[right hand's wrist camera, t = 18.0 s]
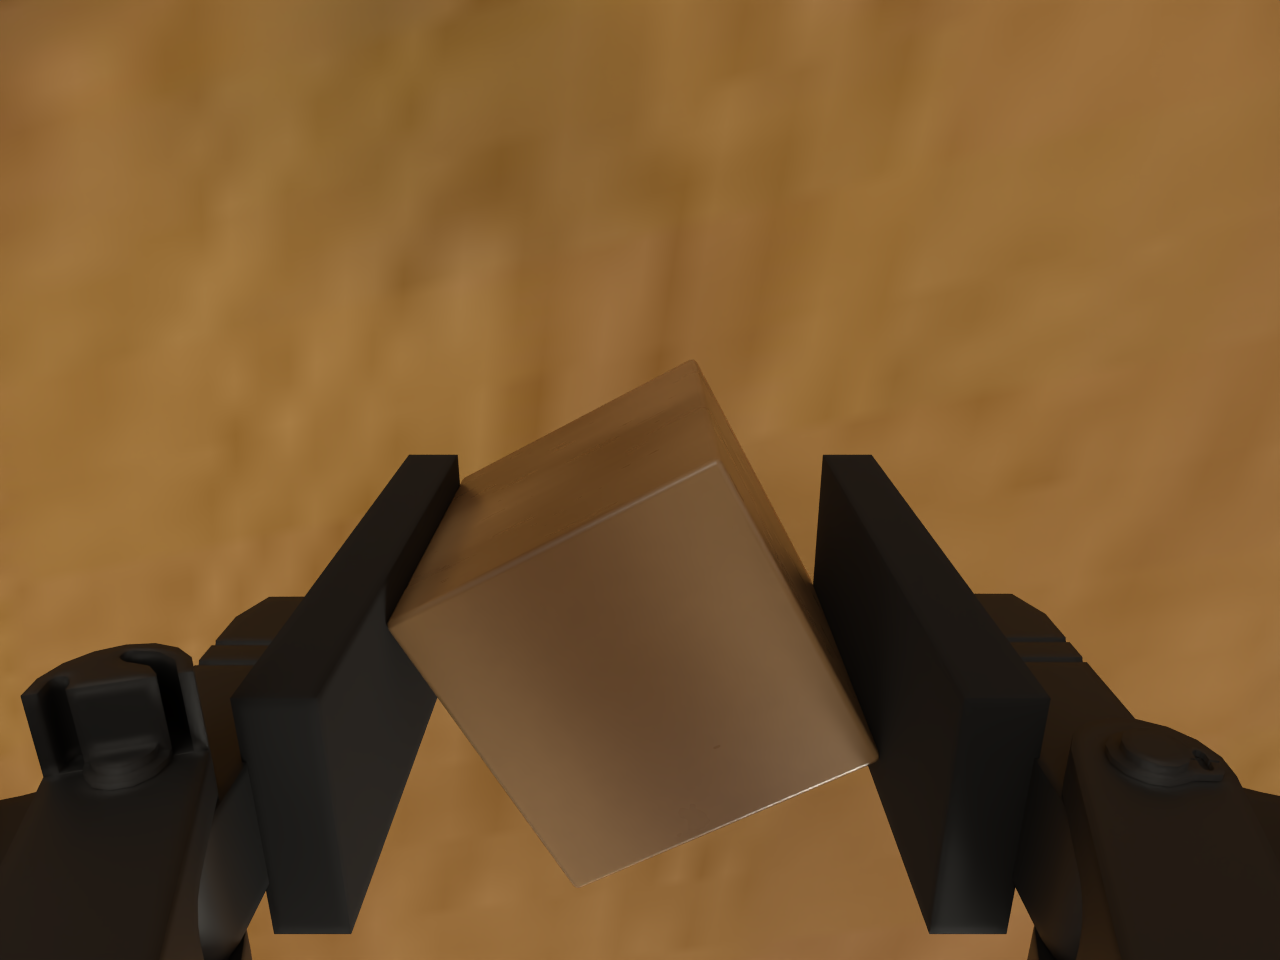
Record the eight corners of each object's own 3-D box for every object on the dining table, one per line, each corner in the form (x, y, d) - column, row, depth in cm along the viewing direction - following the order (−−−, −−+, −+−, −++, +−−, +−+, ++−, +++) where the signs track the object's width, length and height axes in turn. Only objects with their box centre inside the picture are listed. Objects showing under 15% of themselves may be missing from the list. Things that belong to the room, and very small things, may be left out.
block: (593, 682, 16) (575, 892, 11) (460, 478, 14) (382, 625, 10) (811, 581, 15) (883, 761, 11) (694, 357, 14) (719, 457, 9)
